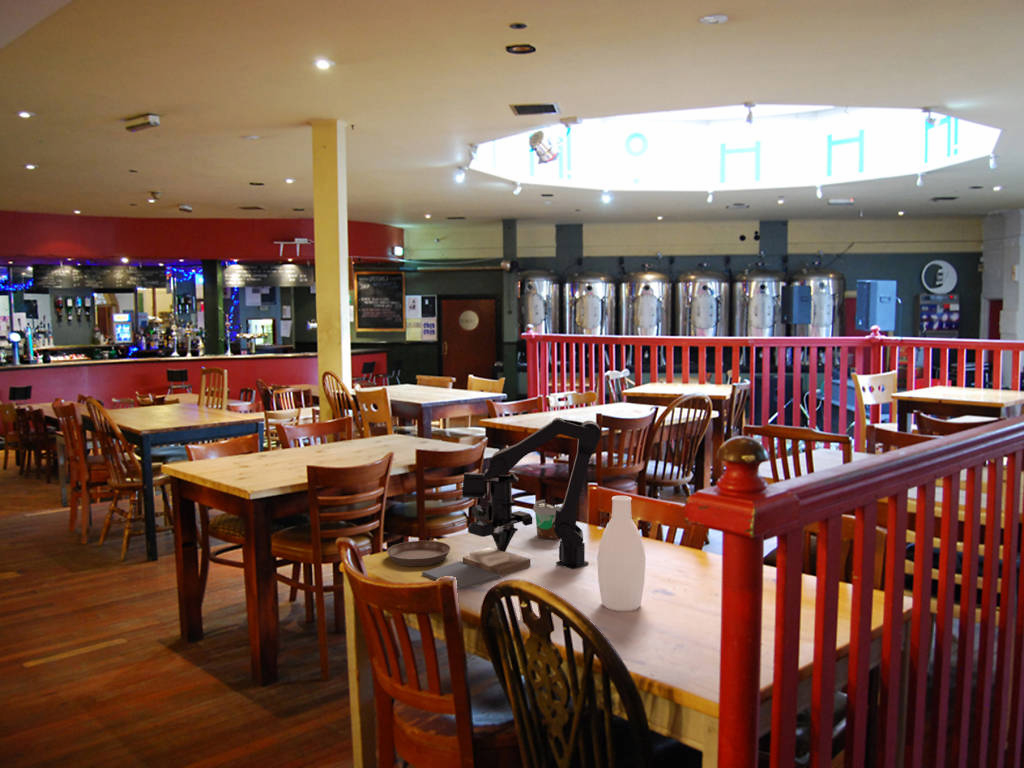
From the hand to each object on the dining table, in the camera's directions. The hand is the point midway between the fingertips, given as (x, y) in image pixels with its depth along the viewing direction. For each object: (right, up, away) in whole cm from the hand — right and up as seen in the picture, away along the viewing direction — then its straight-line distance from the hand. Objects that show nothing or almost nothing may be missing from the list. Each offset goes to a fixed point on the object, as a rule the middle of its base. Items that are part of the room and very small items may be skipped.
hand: (501, 554), depth 216 cm
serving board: (-1, -3, -1) cm, 3 cm away
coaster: (-3, -1, -3) cm, 5 cm away
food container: (+13, 0, +26) cm, 29 cm away
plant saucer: (-23, -3, +6) cm, 24 cm away
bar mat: (-10, -4, -10) cm, 15 cm away
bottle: (+28, -5, -31) cm, 42 cm away
